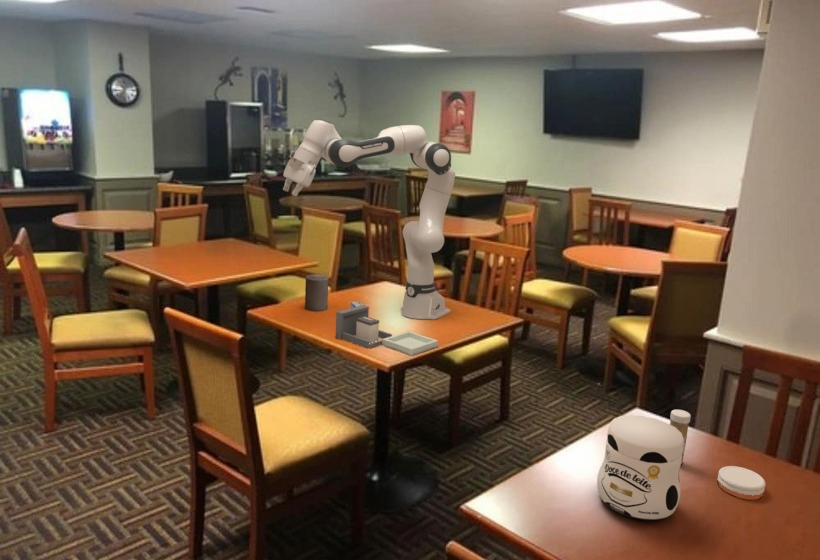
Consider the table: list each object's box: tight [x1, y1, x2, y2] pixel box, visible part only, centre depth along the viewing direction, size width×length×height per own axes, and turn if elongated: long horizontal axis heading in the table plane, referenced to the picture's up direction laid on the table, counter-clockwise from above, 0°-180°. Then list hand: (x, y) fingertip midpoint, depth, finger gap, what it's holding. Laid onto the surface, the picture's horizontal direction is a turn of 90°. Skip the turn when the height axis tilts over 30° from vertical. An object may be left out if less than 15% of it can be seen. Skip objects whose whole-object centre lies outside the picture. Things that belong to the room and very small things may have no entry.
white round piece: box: [717, 465, 766, 496], centre depth 156 cm, size 10×10×4 cm
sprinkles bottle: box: [669, 409, 692, 462], centre depth 165 cm, size 5×5×13 cm
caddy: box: [355, 316, 380, 343], centre depth 245 cm, size 5×7×8 cm, turn 49°
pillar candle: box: [304, 274, 330, 312], centre depth 281 cm, size 10×10×15 cm
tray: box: [381, 330, 439, 357], centre depth 241 cm, size 14×14×2 cm
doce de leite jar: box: [596, 414, 684, 522], centre depth 145 cm, size 17×17×18 cm
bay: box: [335, 304, 393, 349], centre depth 245 cm, size 14×17×10 cm
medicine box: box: [349, 301, 366, 308], centre depth 262 cm, size 8×4×9 cm, turn 23°
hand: (289, 193), depth 247 cm, fingers open, 8 cm apart
